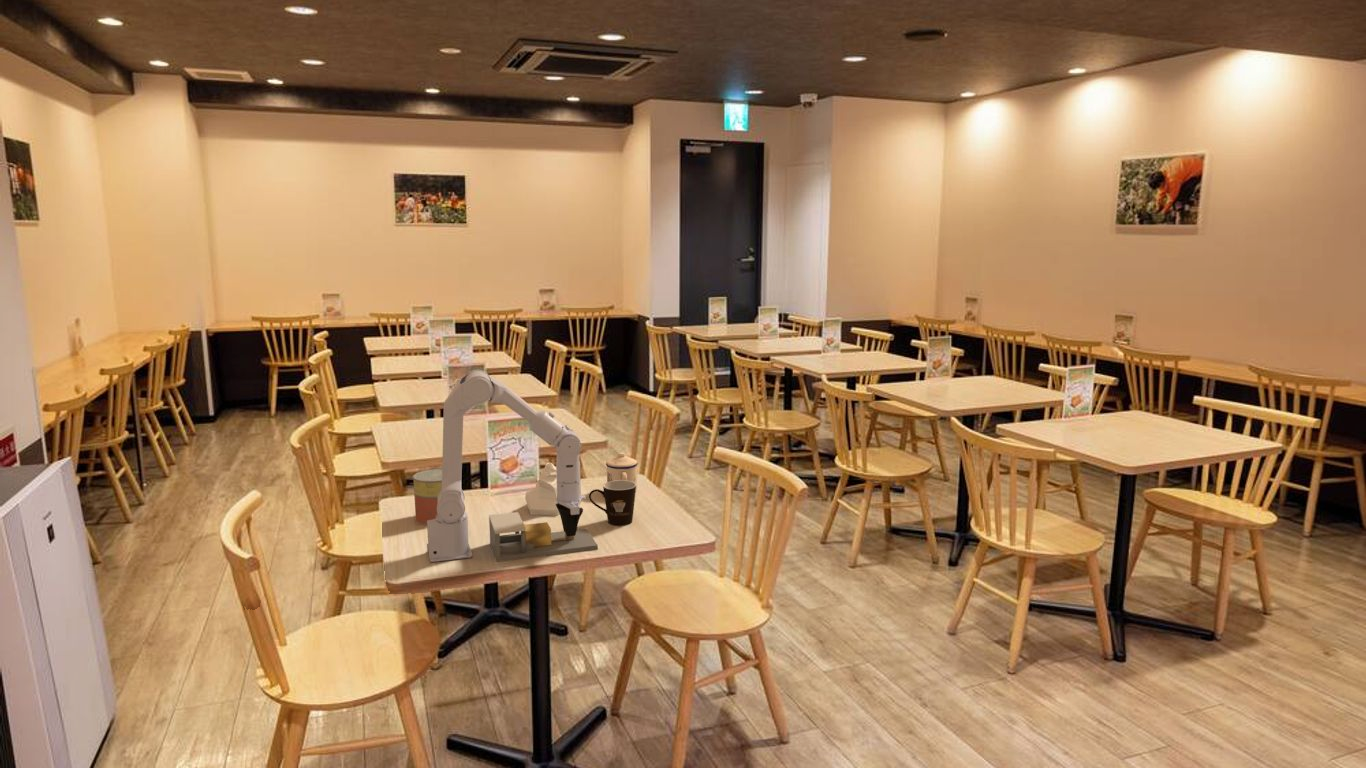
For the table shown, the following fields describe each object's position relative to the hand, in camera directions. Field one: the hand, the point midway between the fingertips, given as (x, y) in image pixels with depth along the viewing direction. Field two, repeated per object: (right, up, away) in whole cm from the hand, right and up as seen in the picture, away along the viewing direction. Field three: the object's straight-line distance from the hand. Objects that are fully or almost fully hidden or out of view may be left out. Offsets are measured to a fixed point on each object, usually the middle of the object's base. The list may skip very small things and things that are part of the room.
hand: (569, 533), depth 209 cm
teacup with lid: (+10, +5, +39) cm, 41 cm away
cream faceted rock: (-9, +2, +27) cm, 28 cm away
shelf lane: (-6, -3, -2) cm, 7 cm away
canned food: (-37, +1, +18) cm, 41 cm away
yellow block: (-5, -2, -1) cm, 5 cm away
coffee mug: (+10, 0, +16) cm, 19 cm away
